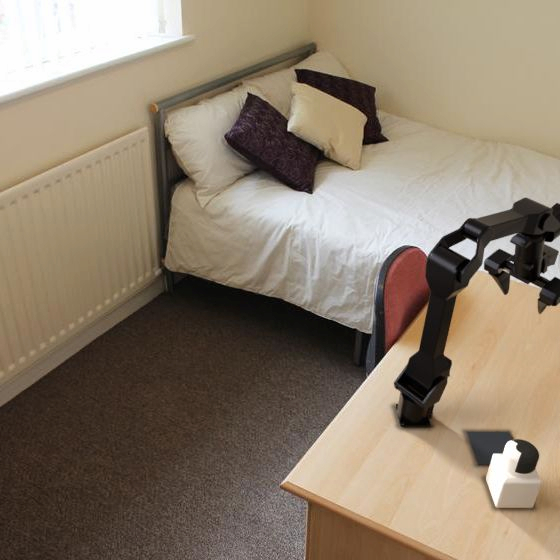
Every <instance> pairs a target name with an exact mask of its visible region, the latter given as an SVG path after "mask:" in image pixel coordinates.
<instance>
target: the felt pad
mask: <svg viewBox="0 0 560 560" xmlns="http://www.w3.org/2000/svg"><path fill="white" fill-rule="evenodd" d="M466 435H467V437H468V441H469V444H470V446H471V449H472V453H473V455H474V458H475V460H476V463H477V466H490V462H491V459H492V456H493V454H503V452H504V449H505V445H506V443H507V442H509V441H511V440H513V438H512V435H511V433H510V431H466Z"/></svg>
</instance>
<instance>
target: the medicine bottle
mask: <svg viewBox="0 0 560 560" xmlns="http://www.w3.org/2000/svg"><path fill="white" fill-rule="evenodd" d="M539 460H540V453H539V450H538V448H537V447H536V446H535V445H534V444H533V443H531V442H530V441H527V440H525V439H522V438H521V439H520V438H515V439H512V440H511V441H509V442H507V443H506V445H505V449H504V452H503V454H493V456H492V459H491V462H490V465H488V466H489V467H488V469H487V470H488V471H487V473H486V476H485V481H486V483H487V486H488V489H489V493H490V495H491V498H492V501H493V504H494V507H495V508H497V509H532V508H533V507H534V505H535V503H536V500H537V497H538V494H539V492H540V489H541V486H542V484H543V483H542V480H541V477H540V475H539V472H538V470H537V465H538V462H539Z"/></svg>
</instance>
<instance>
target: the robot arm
mask: <svg viewBox="0 0 560 560" xmlns="http://www.w3.org/2000/svg"><path fill="white" fill-rule="evenodd" d="M512 235H513V236H512ZM510 236H512V237H511V238H510V240H509V242H510V243H511V244H513V245H514V254H511V253H509V252H507V251H506V250H503V249H502V248H498V249H496V250H494V251H493V252H492V253H491V254H490V255H489V256H487V257H486V258H485V260H484V255H485V249H486V248H487V246H489V244H490V243H491V242H493V241H496V240H499V239H502V238H506V237H510ZM558 237H560V203H559V202H556V203H555V204H553V205H552V206H551V207H550V206H547V205H545V204H543V203H540V202H538V201H535V200H534V199H531V198H529V197H523V198H521V199H518V200H516V201H515V202H513V203H512V207H511V208H510V209H507V210H503V211H500V212H495V213H492V214H487V215H483V216H481V217H469V218H467V219H466V220H465V221H464V222H463V223H462V224H461V225H460V227H459V228H457V229H455V230H453V231H451V232H449V233H447V234H445V235H443V236H442V237H441V238H440V239H439V241H438V242H437V243H436V244H435V246H433V248H432V249H431V250H430V251H429V253H428V254H427V257H426V262H425V273H424V274H425V281H426V283H427V285H428V288H429V290H430V291H429V293H430V294H429V298H428V303H427V308H426V311H425V312H426V313H425V318H424V323H423V327H422V333H421V337H420V342H419V348H418V350H417V351H416V352H415V353H414V354H412V355H411V356H409V358H408V361H407V364H405V366H404V368H402V370H401V371H400V373H399V374H398V375H397V377H396V378H395V380H394V381H393V386H394V387H393V388H394V389H395V390H398V392H399V397H398V403H396V404H395V406H394V407H395V412H396V415H397V421H398V424H399V426H400V427H401V428H430V427H431V425H432V424H431V421H430V420H431V419H432V418H433V412H434V408H435V405H436V404H437V403H439V402H440V401H441V398H442V396H443V394H444V392H445V390H446V387H447V385H448V379H449V378H450V375H451V374H450V373H451V369H452V366H453V362H452V359H451V358H449V357H448V356H446V355H445V351H446V345H447V342H448V338H449V337H448V336H449V332H450V327H451V325H452V319H453V314H454V310H455V306H456V302H457V297H458V295H459V294H460V293H461V292H463V291H464V290H465V289H466V288H467V287H468V286H469V284H470V282H471V280H472V278H473V277H474V276H475V274H476V273H477V272H478V271H479V269H480V268H481V267H482V265H483V270H484V271H486V272H487V273H488V275H489V276H491V278H492V279H493V280H494V282H495V283H496V285H497V286H498V287H499V289H500V290H501V292H502V294H503V295H504V296H507V295H508V294H509V291H510V284H511V277H513V278H514V279H517V280H518V281H521V282H522V283H524V284H526V285H530V284H533V285H534V286H536V287H538V288H540V291H539V293H538V298H537V313H538V315H541V314H543V313H544V311H545V310H546V309H547V307H557V306H558V305H560V278H559V277H557V276H554V277H553V278H552V279H548V278H547V277H544V276H542V274H545V273H547V272H548V267H551V266H554V265H556V261H557V259H558V256H559V253H560V251H559V250H558V249H555V248H554V247H552V246H550V245H547V244H545V243H552V242H553V241H555V240H556V239H557V238H558ZM465 240H470V241H471V242H474V243H475V244H476V246H475V251H474V255H473V257H471V259H470V258H468V257H466V256H465V255H462V254H460V253H459V252H457V251H455V250H453V249H451V248H452V247H453V246H455V245H458V244H460V243H462V242H464V241H465Z"/></svg>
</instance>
